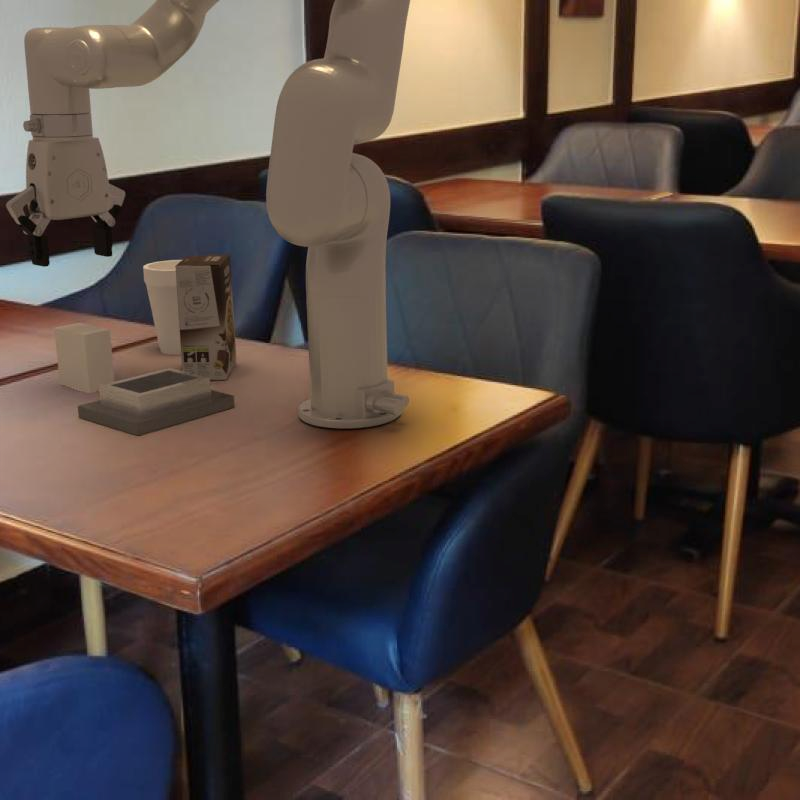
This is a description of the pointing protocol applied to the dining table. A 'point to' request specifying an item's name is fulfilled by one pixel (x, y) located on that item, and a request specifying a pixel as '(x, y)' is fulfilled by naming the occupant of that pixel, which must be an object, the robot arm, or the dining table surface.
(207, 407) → the duct collar
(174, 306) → the foam cup
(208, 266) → the coffee box
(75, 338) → the cream rectangular block
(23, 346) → the dining table surface
